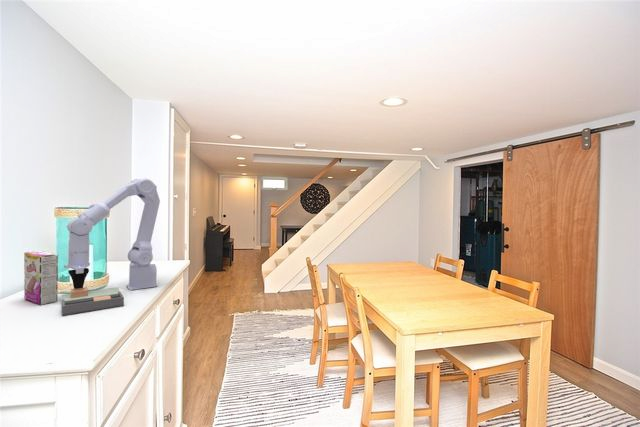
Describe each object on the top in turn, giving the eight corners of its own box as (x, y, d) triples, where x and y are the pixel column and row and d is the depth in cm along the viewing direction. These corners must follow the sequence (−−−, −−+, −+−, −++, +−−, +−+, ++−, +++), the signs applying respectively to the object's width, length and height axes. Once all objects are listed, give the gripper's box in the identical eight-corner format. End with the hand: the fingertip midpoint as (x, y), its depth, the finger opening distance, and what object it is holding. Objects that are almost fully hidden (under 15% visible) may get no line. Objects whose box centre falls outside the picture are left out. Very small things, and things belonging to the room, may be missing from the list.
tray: (119, 299, 104) (119, 290, 104) (123, 306, 98) (123, 297, 98) (61, 308, 94) (61, 298, 94) (62, 316, 88) (62, 306, 88)
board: (117, 292, 112) (117, 287, 111) (121, 298, 105) (121, 293, 105) (61, 300, 101) (61, 294, 101) (61, 307, 95) (61, 301, 94)
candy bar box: (22, 300, 100) (23, 252, 100) (41, 296, 104) (42, 250, 104) (39, 306, 95) (40, 255, 95) (58, 301, 100) (59, 253, 99)
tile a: (109, 301, 101) (109, 295, 101) (111, 304, 98) (111, 298, 98) (93, 303, 98) (93, 297, 98) (94, 307, 95) (94, 301, 95)
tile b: (87, 292, 104) (87, 287, 104) (88, 296, 101) (88, 290, 101) (70, 295, 101) (70, 289, 101) (70, 298, 98) (70, 292, 98)
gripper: (63, 249, 107) (63, 286, 108) (64, 255, 96) (63, 296, 97) (88, 248, 112) (87, 283, 112) (91, 254, 101) (90, 293, 101)
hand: (78, 289), depth 105 cm, fingers closed
